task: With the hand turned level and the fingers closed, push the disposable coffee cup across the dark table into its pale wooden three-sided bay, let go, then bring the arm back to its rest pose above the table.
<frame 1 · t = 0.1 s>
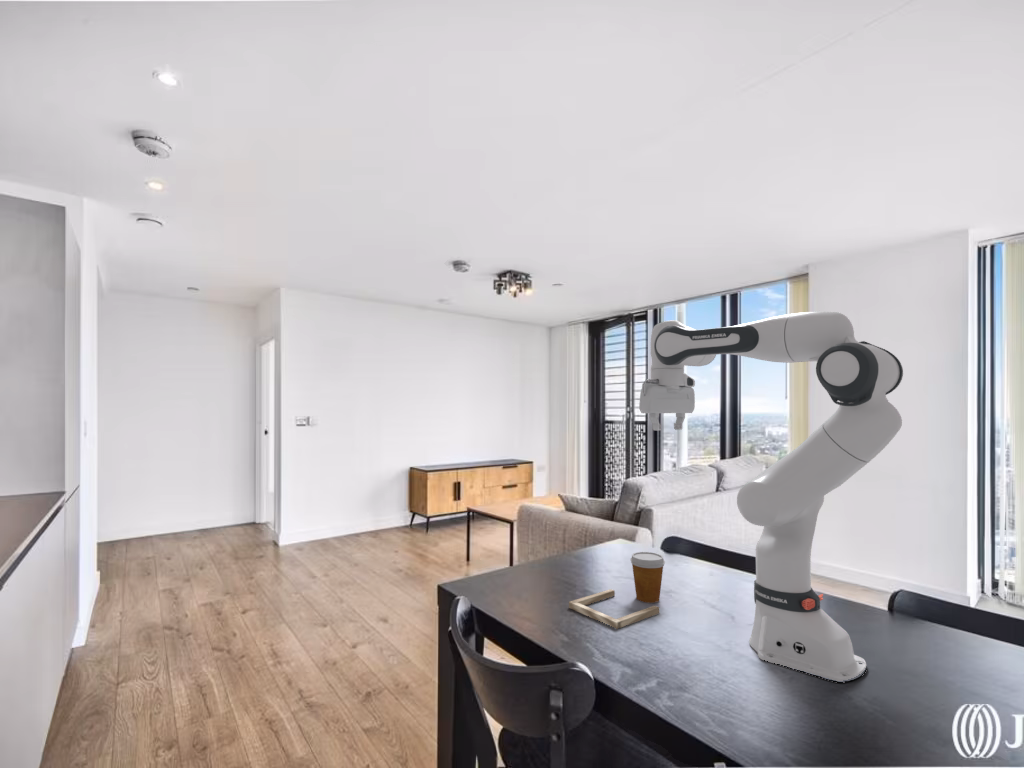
hand: (667, 430, 145), 48 cm above the table, tool pointing down, fingers open, 8 cm apart
cup bay: (614, 610, 140), on the table
disposable coffee cup: (647, 599, 148), on the table
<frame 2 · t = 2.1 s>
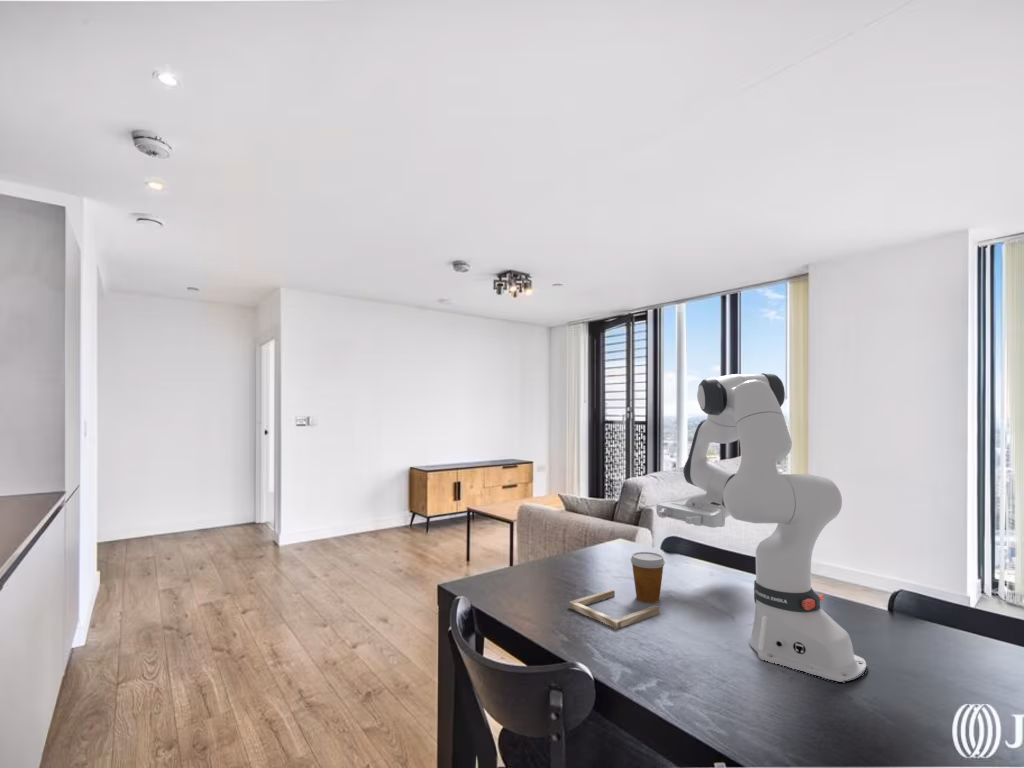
hand: (673, 517, 157), 21 cm above the table, tool horizontal, fingers open, 8 cm apart
nothing on the table moved.
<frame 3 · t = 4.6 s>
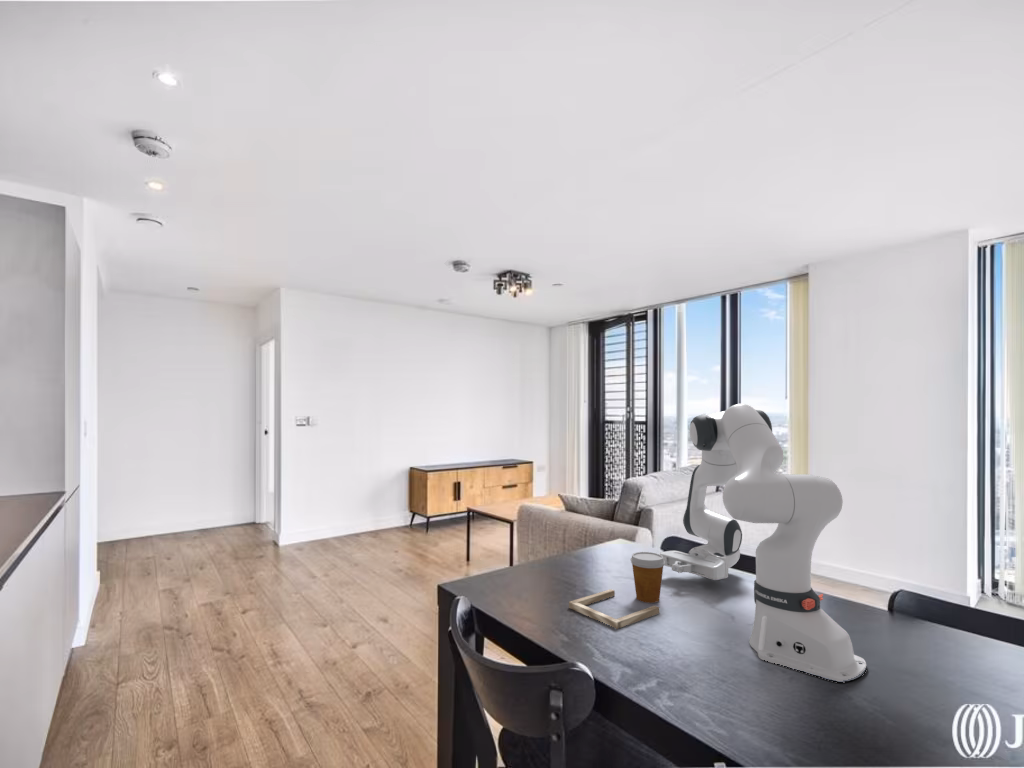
hand: (675, 568, 156), 6 cm above the table, tool horizontal, fingers closed
nothing on the table moved.
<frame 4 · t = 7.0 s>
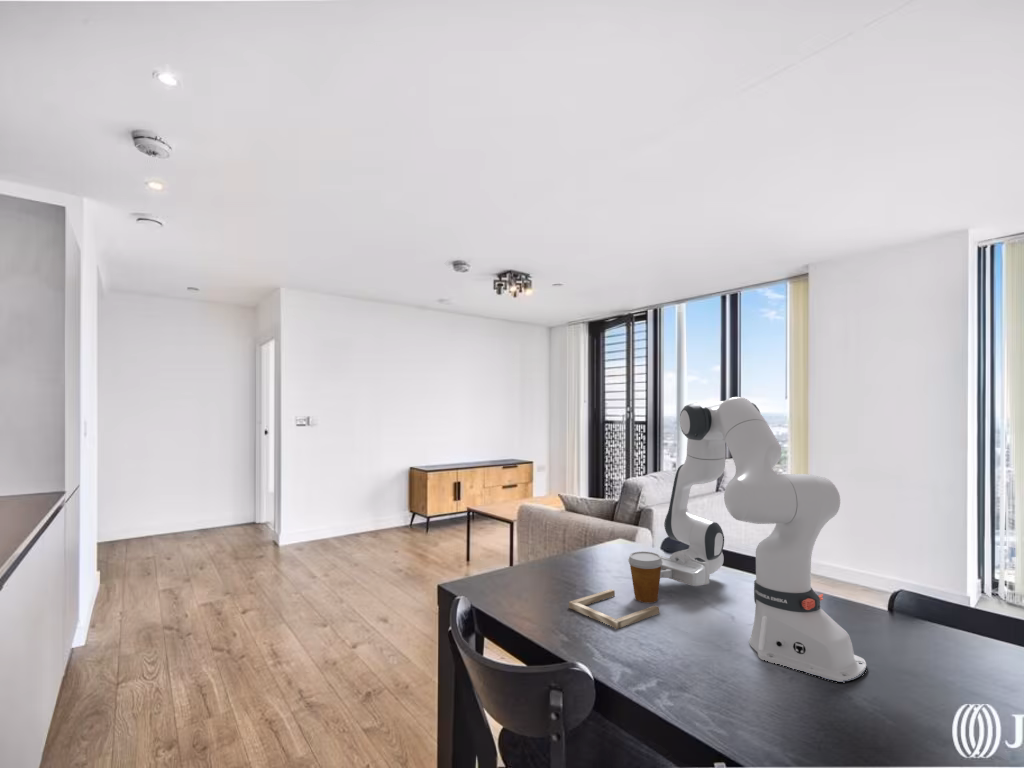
hand: (654, 574, 151), 6 cm above the table, tool horizontal, fingers closed, pressing on disposable coffee cup
disposable coffee cup: (646, 599, 148), on the table, touching gripper
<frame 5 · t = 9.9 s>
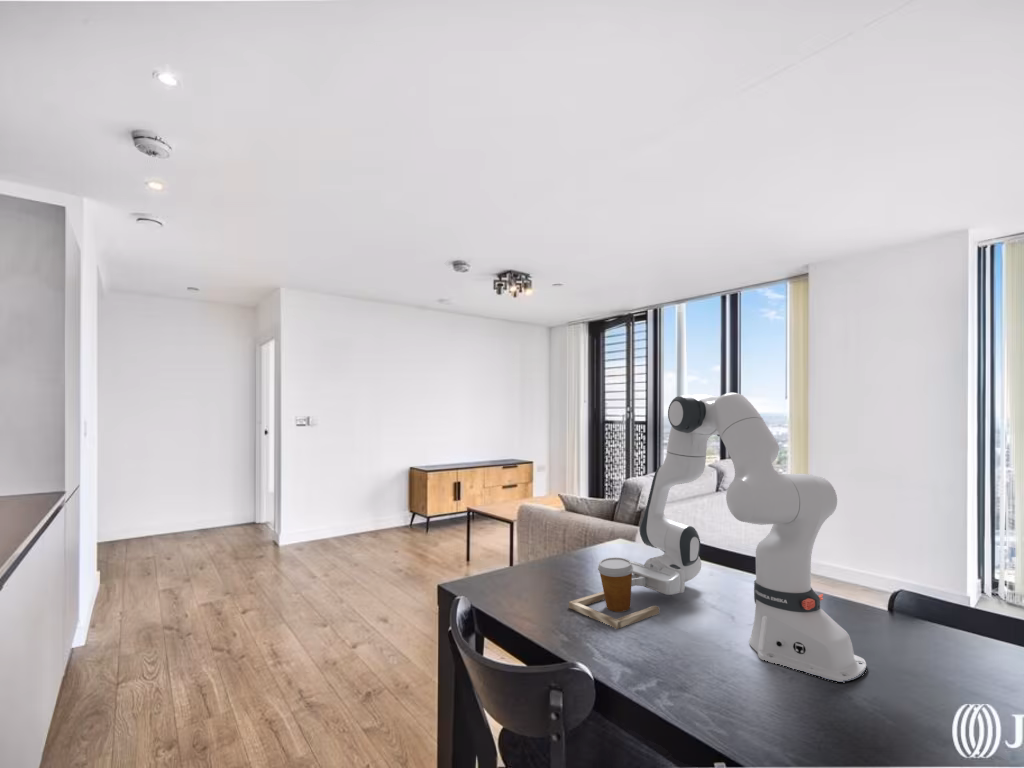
hand: (626, 582, 144), 6 cm above the table, tool horizontal, fingers closed, pressing on disposable coffee cup
disposable coffee cup: (618, 607, 141), on the table, touching gripper
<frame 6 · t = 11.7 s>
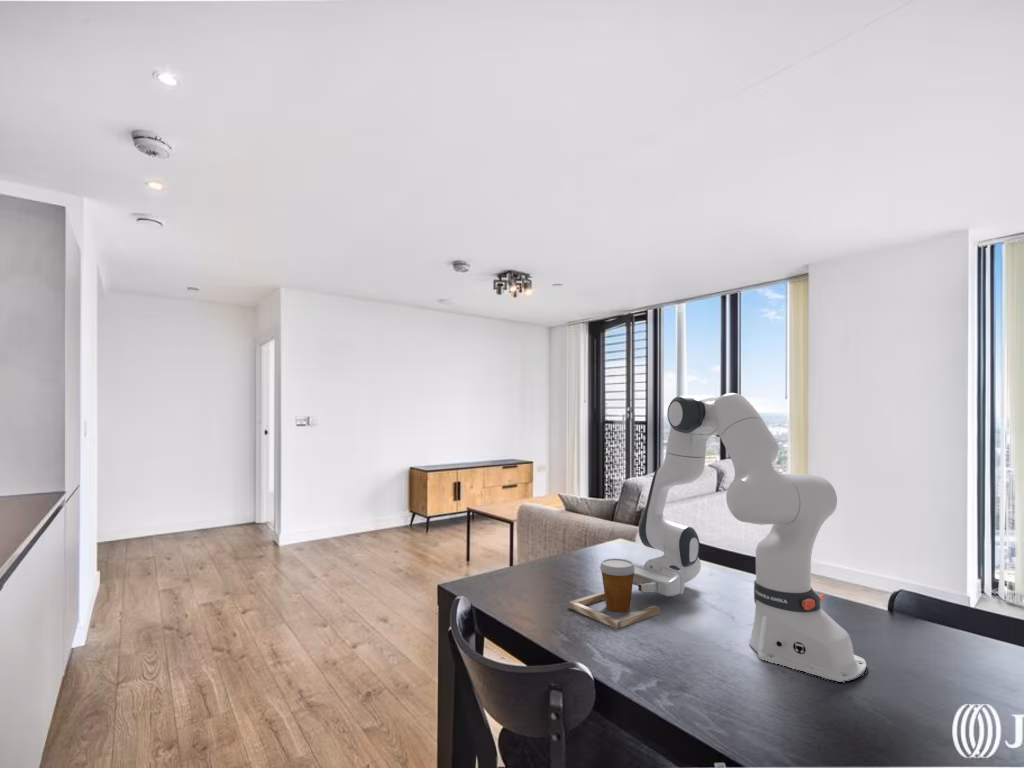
hand: (626, 583, 143), 6 cm above the table, tool horizontal, fingers open, 8 cm apart
disposable coffee cup: (618, 608, 141), on the table
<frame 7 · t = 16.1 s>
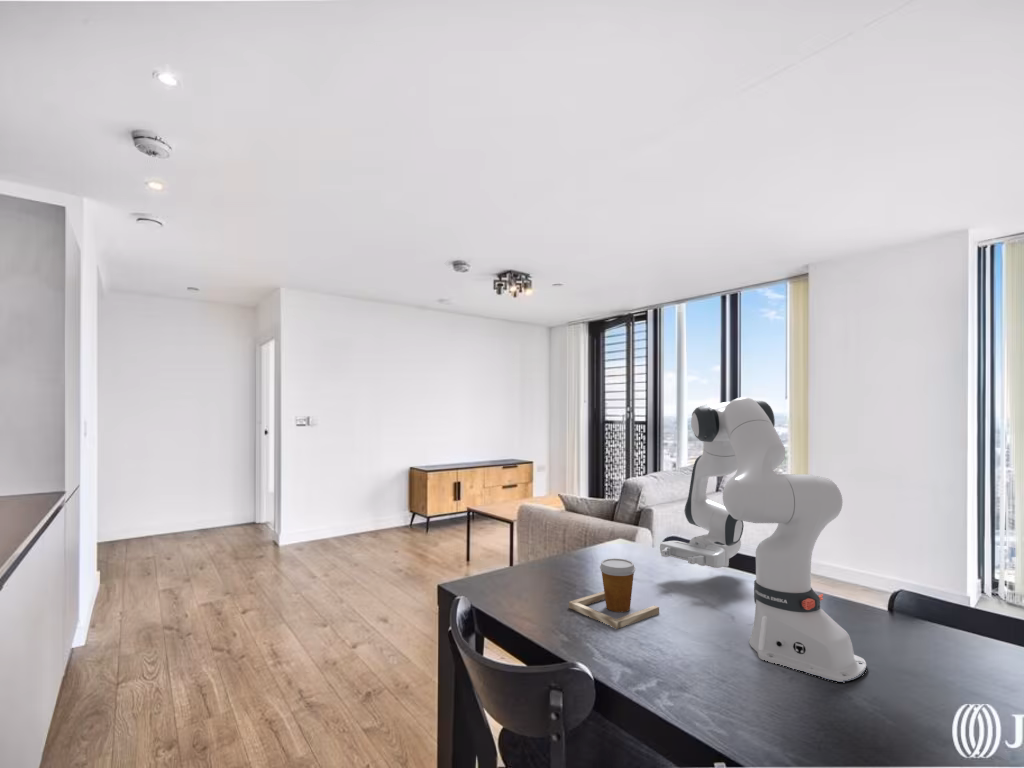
hand: (676, 557, 156), 10 cm above the table, tool horizontal, fingers open, 8 cm apart
nothing on the table moved.
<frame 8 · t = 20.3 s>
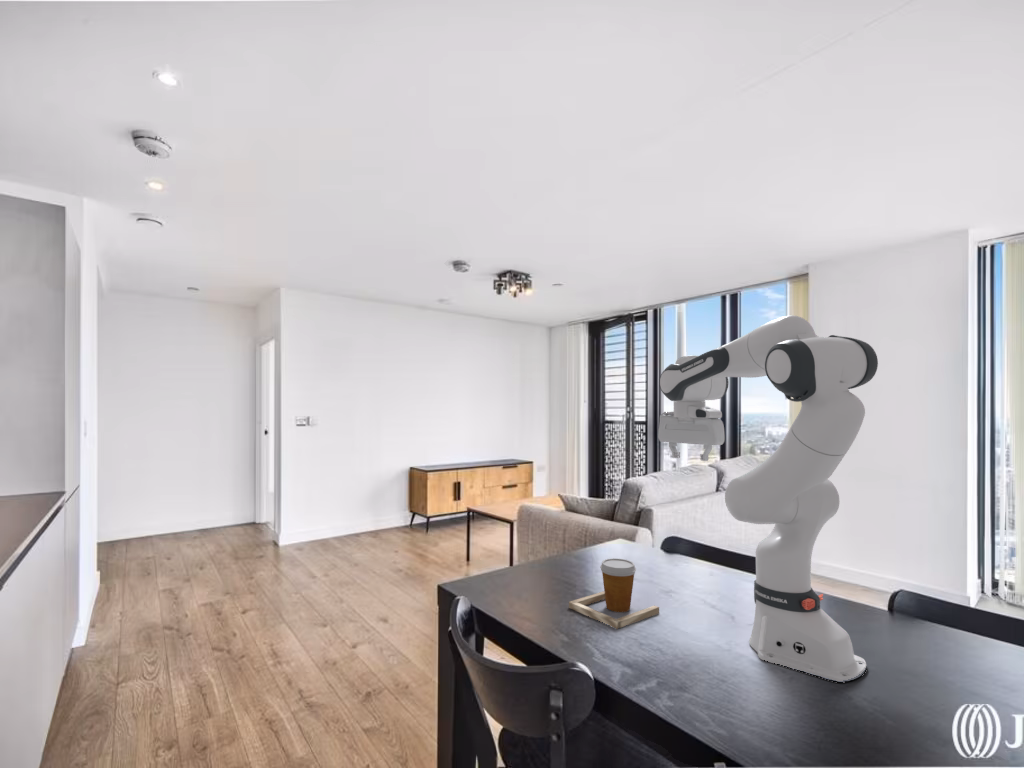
hand: (689, 459, 152), 39 cm above the table, tool pointing down, fingers open, 8 cm apart
nothing on the table moved.
at the end: disposable coffee cup inside the target area on the cup bay (2.1 cm from its centre), point 0.0 cm above the cup bay's base; disposable coffee cup tilted 1°; the gripper is holding nothing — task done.
